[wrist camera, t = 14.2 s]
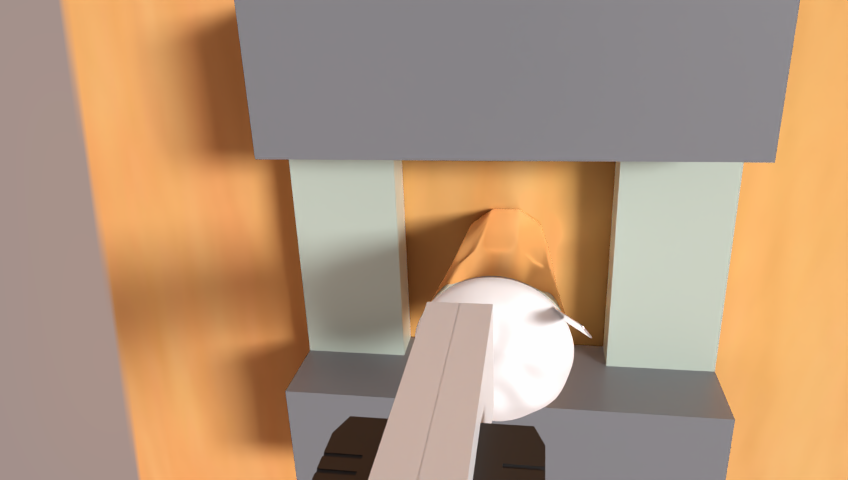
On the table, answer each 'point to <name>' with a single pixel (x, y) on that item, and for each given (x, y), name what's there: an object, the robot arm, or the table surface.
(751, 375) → the table surface
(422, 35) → the frame
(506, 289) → the milkshake
